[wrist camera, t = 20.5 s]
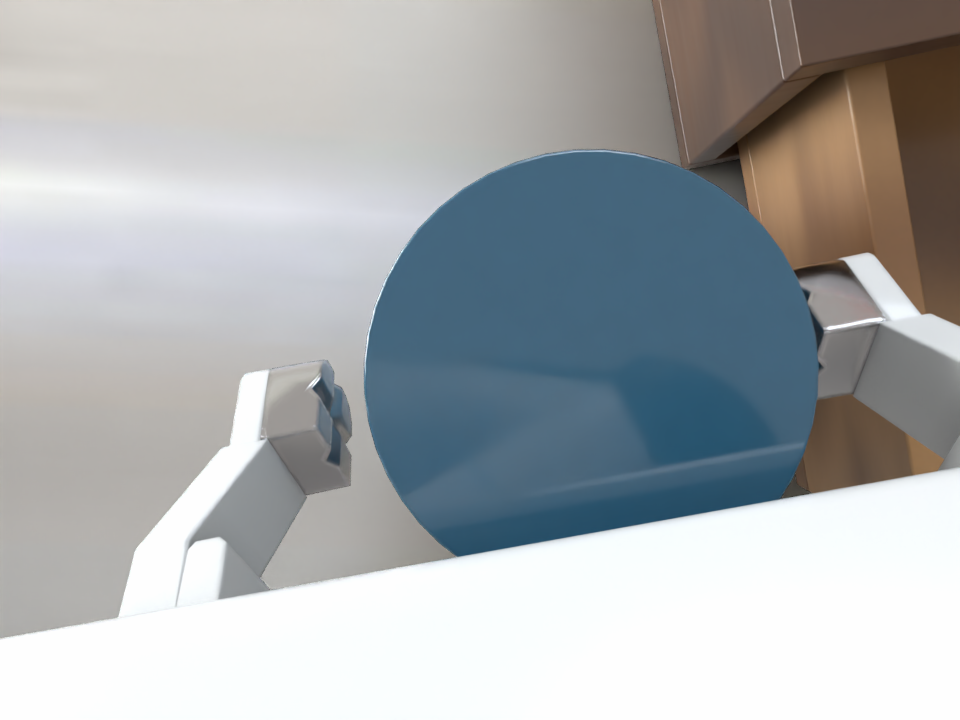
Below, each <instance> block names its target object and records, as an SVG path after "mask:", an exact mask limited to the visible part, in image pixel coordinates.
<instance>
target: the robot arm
mask: <svg viewBox="0 0 960 720" xmlns="http://www.w3.org/2000/svg"><path fill="white" fill-rule="evenodd" d="M792 269H793V271H794V273H795V274H796V276H797V278H798V281H799V283H800V286H801V288H802V291H803V293H804V296H805V298H806V301H807V304H808V307H809V311H810V315H811V319H812V323H813V327H814V331H815V335H816V345H817V354H818V363H819V370H818V397H817V400H819V399H825V398H832V397H838V396H844V395H851V394H854V395H853V397H855V398H856V399H857V400H859V401H860V402H862V403H863V404H865V405H866V406H868V407H869V408H871V409H872V410H873V411H875V412H876V413H878V414H879V415H881V416H882V417H884V418H885V419H886V420H888V421H889V422H891V423H892V424H894V425H895V426H897V427H898V428H900V429H901V430H902V431H904V432H905V433H907V434H908V435H910V436H911V437H913V438H914V439H915V440H917V441H918V442H920V443H921V444H923V445H924V446H926V447H927V448H928V449H930V450H931V451H933V452H934V453H936V454H937V455H939V456H940V457H942V458H943V459H944V461H943V462H942V464H941V466H940V467H939V469H938V471H935V472H930V473H924V474H919V475H913V476H907V477H902V478H896V479H891V480H885V481H879V482H874V483H868V484H863V485H857V486H851V487H846V488H840V489H835V490H829V491H823V492H818V493H812V494H807V495H801V496H796V497H790V498H784V499H779V500H773V501H768V502H762V503H757V504H751V505H745V506H740V507H734V508H729V509H723V510H718V511H712V512H707V513H701V514H695V515H690V516H684V517H679V518H673V519H668V520H662V521H656V522H651V523H645V524H640V525H634V526H628V527H623V528H617V529H612V530H606V531H600V532H595V533H589V534H584V535H578V536H572V537H567V538H561V539H555V540H550V541H544V542H539V543H533V544H527V545H522V546H516V547H511V548H505V549H499V550H494V551H488V552H483V553H477V554H471V555H466V556H460V557H455V558H449V559H443V560H438V561H432V562H427V563H421V564H415V565H410V566H404V567H399V568H393V569H387V570H382V571H376V572H371V573H365V574H359V575H354V576H348V577H343V578H337V579H331V580H326V581H320V582H315V583H309V584H303V585H298V586H292V587H287V588H281V589H275V590H270V589H269V588H268V587H267V585H266V584H265V583H264V582H263V581H262V580H261V579H260V577H261V575H262V574H263V572H264V570H265V568H266V567H267V565H268V563H269V562H270V560H271V558H272V556H273V555H274V553H275V551H276V550H277V548H278V546H279V545H280V543H281V541H282V539H283V538H284V536H285V534H286V533H287V531H288V529H289V527H290V526H291V524H292V522H293V521H294V519H295V517H296V516H297V514H298V512H299V510H300V509H301V507H302V505H303V504H304V502H305V500H306V498H307V497H306V495H310V494H314V493H319V492H324V491H329V490H333V489H338V488H343V487H347V486H351V454H350V452H349V450H348V448H347V446H346V443H347V442H348V440H349V439H350V437H351V436H352V420H351V414H350V407H349V404H348V401H347V398H346V395H345V393H344V391H343V389H342V388H341V387H339V386H338V385H336V384H334V371H333V369H332V367H331V365H330V363H329V361H328V360H319V361H313V362H307V363H301V364H295V365H289V366H283V367H277V368H272V369H269V370H263V371H257V372H251V373H245V375H244V376H243V378H242V379H241V382H240V387H239V393H238V399H237V405H236V411H235V417H234V423H233V429H232V435H231V441H230V446H228V447H223V448H221V449H220V451H219V452H218V453H217V454H216V455H215V456H214V458H213V459H212V460H211V461H210V462H209V464H208V465H207V466H206V467H205V468H204V469H203V471H202V472H201V473H200V474H199V475H198V477H197V478H196V479H195V480H194V481H193V482H192V484H191V485H190V486H189V487H188V488H187V490H186V491H185V492H184V493H183V494H182V495H181V497H180V498H179V499H178V500H177V501H176V503H175V504H174V505H173V506H172V507H171V508H170V510H169V511H168V512H167V513H166V514H165V516H164V517H163V518H162V519H161V520H160V521H159V523H158V524H157V525H156V526H155V527H154V529H153V530H152V531H151V532H150V533H149V535H148V536H147V537H146V538H145V539H144V540H143V542H142V543H141V544H140V545H139V546H138V548H137V549H136V550H135V553H134V557H133V561H132V565H131V569H130V573H129V577H128V581H127V585H126V589H125V593H124V597H123V601H122V605H121V609H120V613H119V617H118V618H113V619H107V620H101V621H96V622H90V623H85V624H79V625H73V626H68V627H62V628H57V629H51V630H45V631H40V632H34V633H29V634H23V635H18V636H12V637H6V638H1V639H0V720H960V326H957V325H955V324H953V323H951V322H948V321H946V320H944V319H942V318H939V317H937V316H935V315H933V314H931V313H930V314H924V315H921V313H920V312H919V311H918V310H917V308H916V307H915V306H914V305H913V303H912V302H911V301H910V300H909V298H908V297H907V296H906V295H905V293H904V292H903V291H902V289H901V288H900V287H899V286H898V284H897V283H896V282H895V281H894V279H893V278H892V277H891V276H890V274H889V273H888V272H887V271H886V269H885V268H884V267H883V266H882V264H881V263H880V262H879V260H878V259H877V258H876V257H875V256H874V255H873V254H871V253H863V254H858V255H853V256H848V257H843V258H839V259H834V260H829V261H824V262H819V263H814V264H809V265H804V266H799V267H794V268H792Z"/></svg>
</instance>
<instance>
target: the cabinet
mask: <svg viewBox="0 0 960 720" xmlns="http://www.w3.org/2000/svg"><path fill="white" fill-rule="evenodd" d="M652 2H653V8H654V13H655V19H656V25H657V30H658V36H659V41H660V47H661V52H662V58H663V64H664V69H665V75H666V80H667V86H668V91H669V97H670V102H671V108H672V114H673V119H674V125H675V130H676V136H677V141H678V147H679V153H680V158H681V164H682V168H684V169H692V168H697V167H702V166H707V165H712V164H717V163H722V162H727V161H731V160H736V159H740V155H739V150H738V144H737V141H738V140H740V139H741V138H742V137H744V136H745V135H746V134H747V133H749V132H750V131H751V130H752V129H754V128H755V127H756V126H758V125H759V124H760V123H761V122H763V121H764V120H765V119H766V118H768V117H769V116H770V115H771V114H773V113H774V112H775V111H777V110H778V109H779V108H780V107H782V106H783V105H784V104H785V103H787V102H788V101H789V100H791V99H792V98H793V97H794V96H796V95H797V94H798V93H799V92H801V91H802V90H803V89H804V88H806V87H807V86H808V85H810V84H811V83H812V82H813V81H815V80H816V79H817V78H818V77H820V76H821V75H822V74H824V73H829V72H834V71H839V70H843V69H848V68H853V67H858V66H862V65H867V64H872V63H877V62H882V61H886V60H891V59H896V58H901V57H905V56H910V55H915V54H920V53H925V52H929V51H934V50H939V49H944V48H948V47H953V46H958V45H960V0H652Z"/></svg>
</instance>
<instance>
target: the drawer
mask: <svg viewBox="0 0 960 720" xmlns="http://www.w3.org/2000/svg"><path fill="white" fill-rule="evenodd" d="M737 144H738V150H739V155H740V161H741V167H742V172H743V178H744V184H745V189H746V195H747V201H748V206H749V212H750V213H751V214H752V215H753V216H754V217H755V218H756V219H757V220H758V221H759V222H760V223H761V224H762V225H763V226H764V227H765V229H766V230H767V231H768V233H769V234H770V235H771V237H772V238H773V239H774V241H775V242H776V243H777V245H778V246H779V247H780V249H781V250H782V251H783V253H784V255H785V257H786V258H787V260H788V262H789V264H790V265H791V267H792V268H794V267H799V266H804V265H809V264H814V263H819V262H824V261H829V260H834V259H839V258H843V257H848V256H853V255H858V254H863V253H871V254H873V255H874V256H875V257H876V258H877V259H878V260H879V262H880V263H881V264H882V266H883V267H884V268H885V269H886V271H887V272H888V273H889V274H890V276H891V277H892V278H893V279H894V281H895V282H896V283H897V284H898V286H899V287H900V288H901V289H902V291H903V292H904V293H905V295H906V296H907V297H908V298H909V300H910V301H911V302H912V303H913V305H914V306H915V307H916V308H917V310H918V311H919V312H920V313H921V315H924V314H930V313H931V314H933V315H935V316H937V317H939V318H942V319H944V320H946V321H948V322H951V323H953V324H955V325H957V326H960V45H958V46H953V47H948V48H944V49H939V50H934V51H929V52H925V53H920V54H915V55H910V56H905V57H901V58H896V59H891V60H886V61H882V62H877V63H872V64H867V65H862V66H858V67H853V68H848V69H843V70H839V71H834V72H829V73H824V74H822V75H821V76H820V77H818V78H817V79H816V80H815V81H813V82H812V83H811V84H810V85H808V86H807V87H806V88H804V89H803V90H802V91H801V92H799V93H798V94H797V95H796V96H794V97H793V98H792V99H791V100H789V101H788V102H787V103H785V104H784V105H783V106H782V107H780V108H779V109H778V110H777V111H775V112H774V113H773V114H771V115H770V116H769V117H768V118H766V119H765V120H764V121H763V122H761V123H760V124H759V125H758V126H756V127H755V128H754V129H752V130H751V131H750V132H749V133H747V134H746V135H745V136H744V137H742V138H741V139H740V140H738V141H737ZM853 395H854V394H851V395H844V396H838V397H832V398H825V399H819V400H817V403H816V409H815V415H814V421H813V426H812V429H811V432H810V436H809V439H808V442H807V446H806V449H805V452H804V455H803V457H802V459H801V461H800V463H799V466H798V468H797V470H796V472H795V474H796V480H797V484H798V485H799V486H801V487H802V488H804V489H806V490H808V491H810V492H811V493H818V492H823V491H829V490H835V489H840V488H846V487H851V486H857V485H863V484H868V483H874V482H879V481H885V480H891V479H896V478H902V477H907V476H913V475H919V474H924V473H930V472H935V471H938V469H939V467H940V466H941V464H942V462H943V461H944V459H943V458H942V457H940V456H939V455H937V454H936V453H934V452H933V451H931V450H930V449H928V448H927V447H926V446H924V445H923V444H921V443H920V442H918V441H917V440H915V439H914V438H913V437H911V436H910V435H908V434H907V433H905V432H904V431H902V430H901V429H900V428H898V427H897V426H895V425H894V424H892V423H891V422H889V421H888V420H886V419H885V418H884V417H882V416H881V415H879V414H878V413H876V412H875V411H873V410H872V409H871V408H869V407H868V406H866V405H865V404H863V403H862V402H860V401H859V400H857V399H856V398H855V397H853Z"/></svg>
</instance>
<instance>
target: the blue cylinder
mask: <svg viewBox="0 0 960 720" xmlns="http://www.w3.org/2000/svg"><path fill="white" fill-rule="evenodd" d="M818 370H819V363H818V354H817V345H816V335H815V331H814V327H813V323H812V319H811V315H810V311H809V307H808V304H807V301H806V298H805V296H804V293H803V291H802V288H801V286H800V283H799V281H798V278H797V276H796V274H795V273H794V271H793V269H792V267H791V265H790V264H789V262H788V260H787V258H786V257H785V255H784V253H783V251H782V250H781V249H780V247H779V246H778V245H777V243H776V242H775V241H774V239H773V238H772V237H771V235H770V234H769V233H768V231H767V230H766V229H765V227H764V226H763V225H762V224H761V223H760V222H759V221H758V220H757V219H756V218H755V217H754V216H753V215H752V214H751V213H750V212H749V211H748V210H747V209H746V208H745V207H744V206H743V205H742V204H740V203H739V202H738V201H736V200H735V199H734V198H733V197H731V196H730V195H729V194H727V193H726V192H725V191H723V190H722V189H721V188H720V187H718V186H716V185H715V184H713V183H711V182H709V181H708V180H706V179H704V178H702V177H701V176H699V175H697V174H695V173H694V172H692V171H689V170H687V169H684V168H682V167H679V166H677V165H675V164H672V163H670V162H667V161H665V160H661V159H657V158H653V157H649V156H646V155H642V154H638V153H633V152H625V151H616V150H608V149H574V150H567V151H560V152H553V153H546V154H542V155H539V156H535V157H531V158H528V159H524V160H521V161H517V162H514V163H512V164H510V165H507V166H505V167H503V168H500V169H498V170H496V171H493V172H491V173H489V174H487V175H485V176H484V177H482V178H480V179H478V180H477V181H475V182H473V183H472V184H470V185H468V186H467V187H465V188H463V189H462V190H461V191H459V192H458V193H457V194H455V195H454V196H453V197H452V198H450V199H449V200H448V201H447V202H445V203H444V204H443V205H441V206H440V207H439V208H438V209H437V210H436V211H435V212H434V213H433V214H432V215H431V216H430V217H429V218H428V219H427V220H426V221H425V222H424V223H423V224H422V225H421V226H420V227H419V228H418V230H417V231H416V232H415V234H414V235H413V236H412V238H411V239H410V240H409V242H408V243H407V244H406V246H405V247H404V248H403V250H402V251H401V252H400V254H399V256H398V257H397V259H396V261H395V263H394V265H393V266H392V268H391V270H390V272H389V273H388V275H387V277H386V279H385V281H384V284H383V286H382V289H381V291H380V294H379V296H378V299H377V301H376V304H375V307H374V310H373V314H372V318H371V322H370V326H369V330H368V334H367V342H366V350H365V358H364V395H365V402H366V409H367V416H368V422H369V426H370V429H371V433H372V437H373V440H374V444H375V448H376V450H377V453H378V455H379V458H380V460H381V462H382V465H383V467H384V469H385V472H386V474H387V476H388V478H389V480H390V481H391V483H392V485H393V487H394V488H395V490H396V492H397V493H398V495H399V497H400V499H401V500H402V502H403V503H404V504H405V505H406V507H407V508H408V509H409V511H410V512H411V513H412V515H413V516H414V517H415V518H416V520H417V521H418V522H419V524H420V525H421V526H422V527H423V528H424V529H425V530H426V531H427V532H428V533H429V534H430V535H431V536H432V537H433V538H434V539H435V540H436V541H437V542H438V543H439V544H441V545H442V546H443V547H445V548H446V549H447V550H448V551H450V552H451V553H452V554H454V555H455V556H456V557H460V556H466V555H471V554H477V553H483V552H488V551H494V550H499V549H505V548H511V547H516V546H522V545H527V544H533V543H539V542H544V541H550V540H555V539H561V538H567V537H572V536H578V535H584V534H589V533H595V532H600V531H606V530H612V529H617V528H623V527H628V526H634V525H640V524H645V523H651V522H656V521H662V520H668V519H673V518H679V517H684V516H690V515H695V514H701V513H707V512H712V511H718V510H723V509H729V508H734V507H740V506H745V505H751V504H757V503H762V502H768V501H773V500H779V499H780V498H781V497H782V495H783V493H784V492H785V490H786V489H787V487H788V485H789V484H790V482H791V481H792V479H793V477H794V474H795V472H796V470H797V468H798V466H799V463H800V461H801V459H802V457H803V455H804V452H805V449H806V446H807V442H808V439H809V436H810V432H811V429H812V426H813V421H814V415H815V409H816V403H817V397H818Z"/></svg>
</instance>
